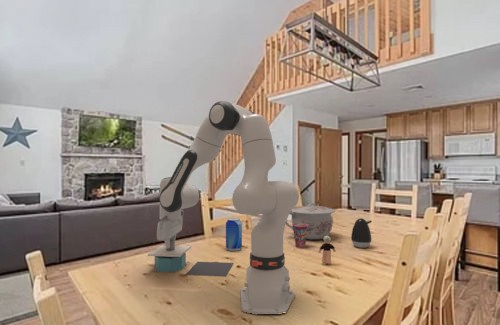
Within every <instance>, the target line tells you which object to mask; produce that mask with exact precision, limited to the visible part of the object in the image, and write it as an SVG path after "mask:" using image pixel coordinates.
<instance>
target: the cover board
mask: <svg viewBox="0 0 500 325" xmlns="http://www.w3.org/2000/svg"><path fill="white" fill-rule="evenodd" d="M170 243H171V247H170V248H166V247H165V245H164V244H162V245H160V246H157V247H156V248H155V249H154V250H151V251H150V252H148V253H147V257H155V256H166V257H181V256H182V255H183V254H184V253H187V252H188V251H189V250H190V249H192V245H176V239H173V238H171V237H170Z"/></svg>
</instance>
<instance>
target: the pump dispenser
mask: <svg viewBox="0 0 500 325" xmlns="http://www.w3.org/2000/svg"><path fill="white" fill-rule="evenodd" d="M371 223H373V222H372V220H365V219H364V218H357V219H356V221H355V222H354V224H353V227H352V231H351V236H350V237H351V238H350V240H351V242H352V244H353V246H354V247H356V248H359V249H366V248H368V247H369V246H370V245H371V243H372V234H371V230H370V227H369V224H371Z"/></svg>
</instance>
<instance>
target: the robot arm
mask: <svg viewBox="0 0 500 325" xmlns="http://www.w3.org/2000/svg"><path fill="white" fill-rule="evenodd" d="M267 121H268V120H267V119H266V118H265V116H264V115H262V114H259V113H255V112H253V110H250V109H247V108H245V107H243V106H242V105H239V104H236V103H233V102H229V101H222V100H221V101H217V102H215V103H213V105H212V106H211V107H210V109H209V113H208V115H207V116H206V117H204V119H203V121H202V122H201V125H200V126H199V128H198V130H197V133H196V135H195V137H194V139H193V142H192V144H191V145H190V147H189V148H188V149H187V151H185V153H184V154H183V155H182V157H181V158H180V160H179V162H178V164H177V165H176V168H175V169H174V172H173V173H172V176H170V177H165V178H163V179H161V180H160V183H159V191H158V193H159V195H158V196H159V198H158V201H159V222H158V223H157V228H156V240H157V241H159V242H160V241H161V242H163V241H164V244H165V247H166V248H170V247H171V243H170V238H173V239H175V240H176V237H177V234H178V233H181V232H182V230H183V224H184V223H183V221H184V218H183V216H184V209H188V208H193V207H194V206H196V205H197V204H198V203H199V202H200V192H199V189H198V188H197V187H196V186H195V185H192V184H189V183H188V181H189V179H190V177H191V175H192V173H193V172H194V171H195V170H197V169H198V168H199V167H201V166H203V165H205V164H208V163H210V162H212V161H214V160H215V159H216V157H217V156H218V154H219V153H220V151H221V148H222V146H223V143H224V141H225V138H226V137H227V136H228V135H229V134H231V135H234V136H240V139H241V146H242V154H243V161H244V170H243V171H244V173H243V177H242V179H241V181H240V183H239V184H238V185H237V186H236V187H235V189H234V191H233V193H232V198H231V199H232V200H231V201H232V205H233V207H234V209H235V211H237V213H239V214H241V215H246V216H247V215H249V216H256V215H257V216H258V215H261V218H260V220H259V222H258V223H257V224H256V225H254V227H253V228H252V229H251V231H250V249H251V250H250V254H249V266H248V267H246V282H244V287H243V288H241V289H240V292H239V293H240V304H241V306H240V307H241V311H242V312H244V313H246V312H247V313H248V314H250V313H252V314H251V315H257V314H279V313H283V312H286V311H287V310H288V311H289V309H290V307H291V305H292V303H293V301H294V298H295V296H296V292H295V291H294V290H293V289H292V290H291V289H290V288H291V286H290V272H289V271H290V270H289V269H288V268H287V266H285V259H286V258H285V253H284V233H285V228H286V227H285V226H286V221H287V222H288V218H289V216H290V212H291V210H292V209H293V208H294V207H297V205H298V202H299V198H300V194H299V190H298V189H297V186H296V185H295V184H294V183H292V182H288V181H286V180H285V181H283V180H271V181H269V180H268V177H269V171H270V170H271V169H272V168H273V167H275V165H276V162H277V159H276V158H277V156H276V152H275V146H274V142H273V138H272V134H271V133H272V132H271V130H270V129H271V128H270V126H269V124H268V122H267ZM292 300H293V301H292ZM291 302H292V303H291ZM290 304H291V305H290ZM289 306H290V307H289ZM288 308H289V309H288ZM288 311H287V312H288Z"/></svg>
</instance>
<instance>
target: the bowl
mask: <svg viewBox="0 0 500 325" xmlns="http://www.w3.org/2000/svg"><path fill="white" fill-rule="evenodd" d="M186 255H187V252H185V253H184V254H183V255H182V256H181V257H166V256H154V270H155V271H157V272H161V273H173V272H177V271H181V270H182V271H183V269H184V268H185V267H186V266H187V261H186V260H187V259H186V258H187V257H186Z"/></svg>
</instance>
